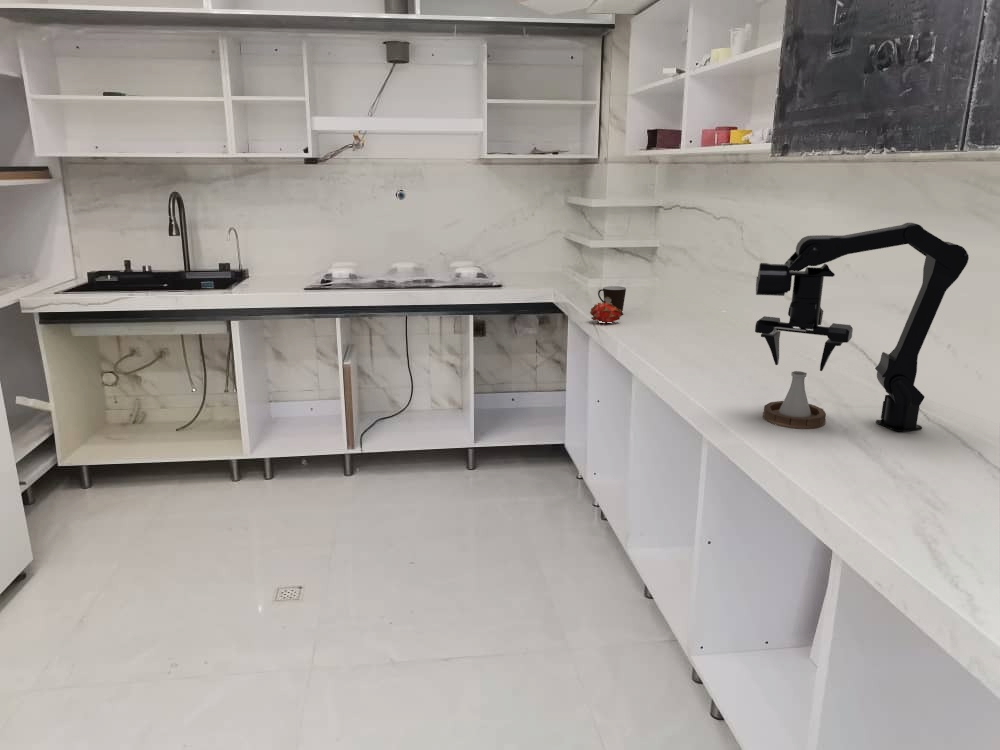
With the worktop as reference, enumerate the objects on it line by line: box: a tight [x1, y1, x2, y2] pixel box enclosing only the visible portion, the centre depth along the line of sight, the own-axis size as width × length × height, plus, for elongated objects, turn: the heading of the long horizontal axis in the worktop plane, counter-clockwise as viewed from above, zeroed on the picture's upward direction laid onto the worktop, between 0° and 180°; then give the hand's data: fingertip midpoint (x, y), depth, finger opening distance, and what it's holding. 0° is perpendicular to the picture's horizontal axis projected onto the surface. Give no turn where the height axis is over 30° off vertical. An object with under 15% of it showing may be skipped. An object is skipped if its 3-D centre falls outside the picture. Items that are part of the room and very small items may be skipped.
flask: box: [778, 370, 811, 418], centre depth 160 cm, size 7×7×10 cm
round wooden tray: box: [762, 400, 827, 430], centre depth 161 cm, size 13×13×2 cm
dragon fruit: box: [589, 302, 624, 323], centre depth 258 cm, size 8×8×12 cm
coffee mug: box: [597, 285, 627, 311], centre depth 276 cm, size 12×9×10 cm
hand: (798, 367), depth 158 cm, fingers open, 9 cm apart
